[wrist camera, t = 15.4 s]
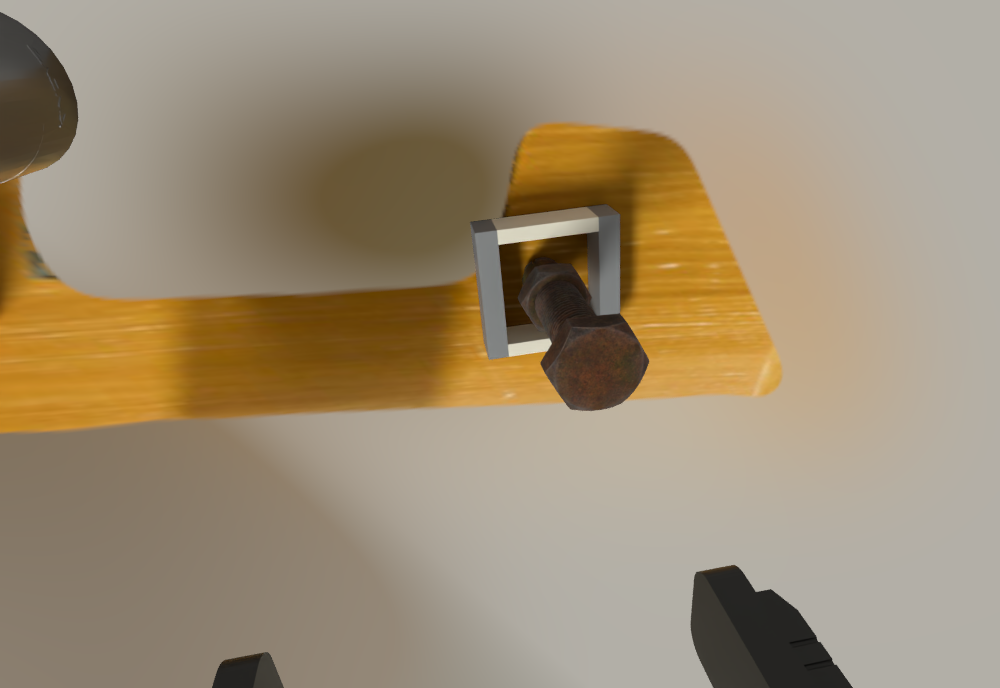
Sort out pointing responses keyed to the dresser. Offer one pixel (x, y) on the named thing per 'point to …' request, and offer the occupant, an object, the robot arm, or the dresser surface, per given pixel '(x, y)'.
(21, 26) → the robot arm
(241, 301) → the dresser surface
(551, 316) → the bolt
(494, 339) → the grey white square frame
